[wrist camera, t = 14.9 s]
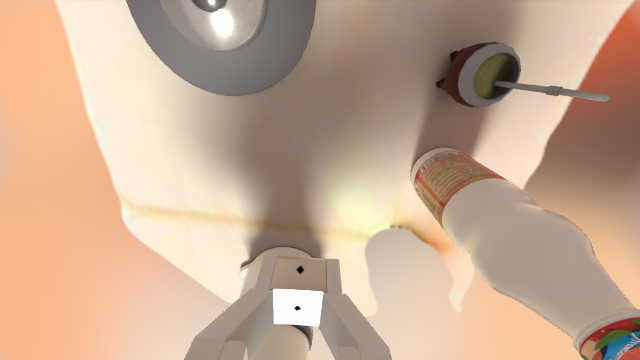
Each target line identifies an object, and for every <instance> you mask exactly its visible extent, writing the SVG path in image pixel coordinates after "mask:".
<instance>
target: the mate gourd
mask: <svg viewBox="0 0 640 360" xmlns="http://www.w3.org/2000/svg"><path fill="white" fill-rule="evenodd" d="M450 56H451V61H452V63H451V65H450V67H449V69H448V71H447V73H446V78H444V79H442V80H440V81H438V82H437V83H436V86H437V88H440V87H442V88H443V89H444V90H446V91H447V92H448V94H449V95H450V96H451V97H452V98H453V99H454V100H455V101H456V102H458V103H460V104H463V105H466V106H468V107H479V106H489V105H491V104H493V103H495V102H497V101H500V100H501V99H502V98H503V97H505V96H506V95H507V94H508V93H509V92H510V91H511V90H512V89H520V90H528V91H535V92H542V93H546V95H553V96H558V95H564V96H571V97H577V98H584V99H591V100H597V101H604V102H606V101H608V99H609V98H610V95H604V94H598V93H591V92H584V91H577V90H570V89H563V88H562V87H558V86H557V87H556V86H549V87H545V86H537V85H528V84H519V83H517V81H518V79H519V76H520V72H521V66H520V58H519V57H518V55H517V54H516V52H515V51H514V50H513V48H511V47H509V46H506V45H504V44H502V43H501V44H499V43H497V42H491V43H480V44H476V45H473V46H470V47H467V48H464V49H462V50H460V51H459V52H457V51H455V52H453V53H451V54H450Z"/></svg>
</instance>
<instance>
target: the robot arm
mask: <svg viewBox="0 0 640 360" xmlns="http://www.w3.org/2000/svg"><path fill="white" fill-rule="evenodd" d="M240 277H241V279H242V282H243V287H242V291H241V294H240V298H239V299H238V300H237V301H235V302H234V303H233V304H232V305H231V306H230V307H229V308H228V309H226V310H225V311H224V312H223V313H222V314H221V315H220V316H219V317H217V318H216V319H215V320H214V321H213V322H212V323H210V324H209V325H208V326H207V327H206V328H205V329H204V330H203V331H201V332H200V333H199V334H198V335H197V336H196V337H195V338H194V340H193V342H192V344H191V346H190V348H189V351H188V353H187V355H186V357H185V359H184V360H309V350H310V348H311V345H312V339H313V326H319V329H320V331H321V333H322V335H323V337H324V338H325V341H326V342H327V344H328V346H329V348H330V350H331V352H332V354H333V356H334V358H335V360H392V358H391V354H390V350H389V347H388V346H387V345H386V344H385V342H384V341H383V340H382V339H381V337H380V336H379V335H378V333H377V332H376V331H375V330H374V328H373V327H372V326H371V325H370V324H369V322H368V321H367V320H366V319H365V317H364V316H363V315H362V314H361V312H360V311H359V310H358V309H357V307H356V306H355V305H354V304H353V302H352V301H351V300H350V299H349V297H348V296H347V295H346V294H342V287H341V277H340V266H339V260H338V259H319V258H312V257H311V256H310V255H309V254H307V253H305V252H303V251H301V250H298V249H295V248H289V247H277V248H272V249H269V250H266V251H264V252H262V253H261V254H260V255H258V256H257V257H256V258H255V260H254V261H253V262H251V263H250V264H247V265H245V266H243V267H242V268H241V270H240Z"/></svg>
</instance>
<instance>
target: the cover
mask: <svg viewBox="0 0 640 360" xmlns="http://www.w3.org/2000/svg"><path fill="white" fill-rule="evenodd" d="M160 3H161V5H162V7H163V9H164V11H165V13H166V15H167V17H168V18H169V20H170V21H171V22H172V24H173V25H174V26H175V27H176V29H177V30H178V31H179V32H180V33H181V34H182V35H183V36H185V37H186V38H187V39H189V40H190V41H192V42H193V43H195V44H197V45H199V46H201V47H204V48H207V49H213V50H219V51H236V50H240V49H242V48H244V47H246V46H248V45H249V44H251V43H252V42H253V41H254V40H255V39H256V38H257V36H258V35H259V33H260V32H261V30H262V28H263V25H264V23H265V19H266V15H267V5H268V0H160Z"/></svg>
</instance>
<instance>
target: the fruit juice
mask: <svg viewBox="0 0 640 360" xmlns="http://www.w3.org/2000/svg"><path fill="white" fill-rule="evenodd" d="M411 184H412V186H413V189H414V191H415V192H416V193H417V195H418V196H419V197H420V199H421V200H422V201H423V203H424V204H425V205H426V207H427V208H428V209H429V211H430V212H431V213H432V215H433V216H434V217H435V219H436V220H437V221H438V223H439V224H440V225H441V227H442V228H443V229H444V231H445V232H446V234H447V235H448V236H449V238H450V239H451V240H452V241H453V242H454V243H455V244H456V245H457V246H458V247H459V248H460V249H461V250H462V251H463V252H465V253H466V254H468V255H470V257H471V259H472V262H473V264H474V267H475V269H476V270H477V272H478V274H479V275H480V276H481V277H482V278H483V279H484V281H485V282H486V283H487V284H488V285H489V286H490V287H492V288H493V289H494V290H496V291H497V292H499V293H501V294H502V295H505V296H507V297H509V298H512V299H514V300H516V301H518V302H519V303H521V304H523V305H524V306H526V307H527V308H529V309H531V310H532V311H534V312H535V313H537V314H538V315H540V316H541V317H543V318H544V319H546V320H547V321H548V322H550V323H551V324H552V325H554V326H555V327H557V328H558V329H560V330H561V331H563V332H564V333H566V334H567V335H568V336H569V337H571V338H572V339H573V345H574V347H575V349H576V350H577V351H578V352H579V353H580V355H581V357H582V358H583V359H584V360H640V310H638V309H636V308H635V307H634V306H633V305H632V304H631V303H630V302H629V300H628V299H627V298H626V297H625V295H624V294H623V293H622V291H621V290H620V289H619V288H618V286H617V285H616V284H615V283H614V281H613V280H612V279H611V278H610V276H609V275H608V274H607V272H606V271H605V270H604V268H603V267H602V265H601V264H600V263H599V261H598V259H597V258H596V256H595V253H594V250H593V247H592V244H591V242H590V240H589V239H588V237H587V236H586V234H585V233H584V232H583V231H582V230H581V229H580V228H579V227H578V226H576V225H575V224H574V223H572V222H571V221H569V220H568V219H567V218H565V217H563V216H561V215H559V214H557V213H554V212H552V211H549V210H546V209H542V208H540V207H539V206H538V204H537V202H536V201H535V200H534V199H533V198H532V197H531V196H530V195H529V194H527V193H526V192H525V191H523V190H522V189H521V188H519V187H518V186H516V185H515V184H513V183H511V182H510V181H508V180H506V179H504V178H503V177H501V176H500V175H498V174H496V173H495V172H493V171H491V170H490V169H488V168H487V167H485V166H483V165H482V164H480V163H478V162H477V161H475V160H474V159H472V158H470V157H469V156H467V155H465V154H464V153H462V152H460V151H458V150H456V149H453V148H437V149H433V150H431V151H429V152H427V153H425V154H424V155H422V156H421V157H420V158H419V159H418V160H417V162H416V163H415V165H414V166H413V169H412V172H411Z"/></svg>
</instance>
